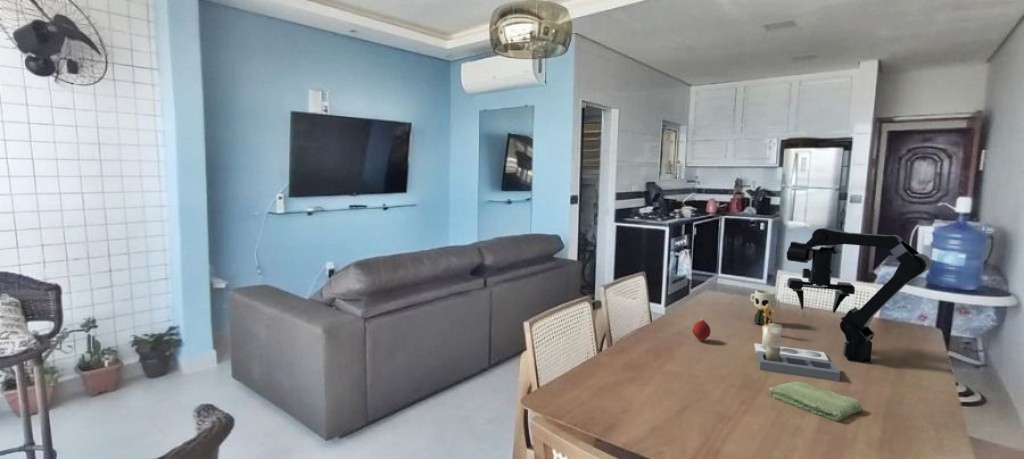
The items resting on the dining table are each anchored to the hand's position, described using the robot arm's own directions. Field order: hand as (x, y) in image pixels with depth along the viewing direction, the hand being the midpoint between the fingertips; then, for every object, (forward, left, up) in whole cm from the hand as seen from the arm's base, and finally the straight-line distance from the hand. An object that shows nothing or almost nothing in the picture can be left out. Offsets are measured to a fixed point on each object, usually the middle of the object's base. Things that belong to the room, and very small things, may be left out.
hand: (817, 310), depth 166 cm
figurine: (+14, -8, -13) cm, 21 cm away
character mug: (+14, -23, -13) cm, 30 cm away
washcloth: (+8, +48, -14) cm, 50 cm away
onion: (+36, +9, -13) cm, 39 cm away
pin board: (+9, +25, -13) cm, 29 cm away
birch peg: (+15, +25, -13) cm, 32 cm away
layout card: (+9, +11, -13) cm, 19 cm away
